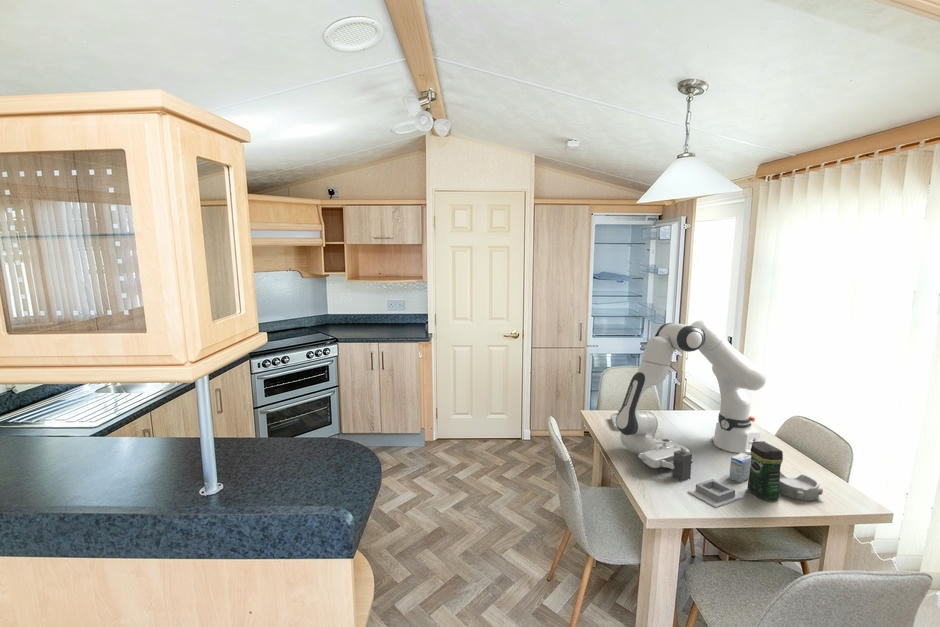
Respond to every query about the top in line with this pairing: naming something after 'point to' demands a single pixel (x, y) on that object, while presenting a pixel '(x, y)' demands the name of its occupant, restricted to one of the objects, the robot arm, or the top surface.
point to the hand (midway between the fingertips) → (683, 464)
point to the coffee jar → (765, 470)
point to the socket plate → (715, 493)
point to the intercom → (614, 421)
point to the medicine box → (740, 467)
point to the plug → (682, 464)
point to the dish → (800, 487)
